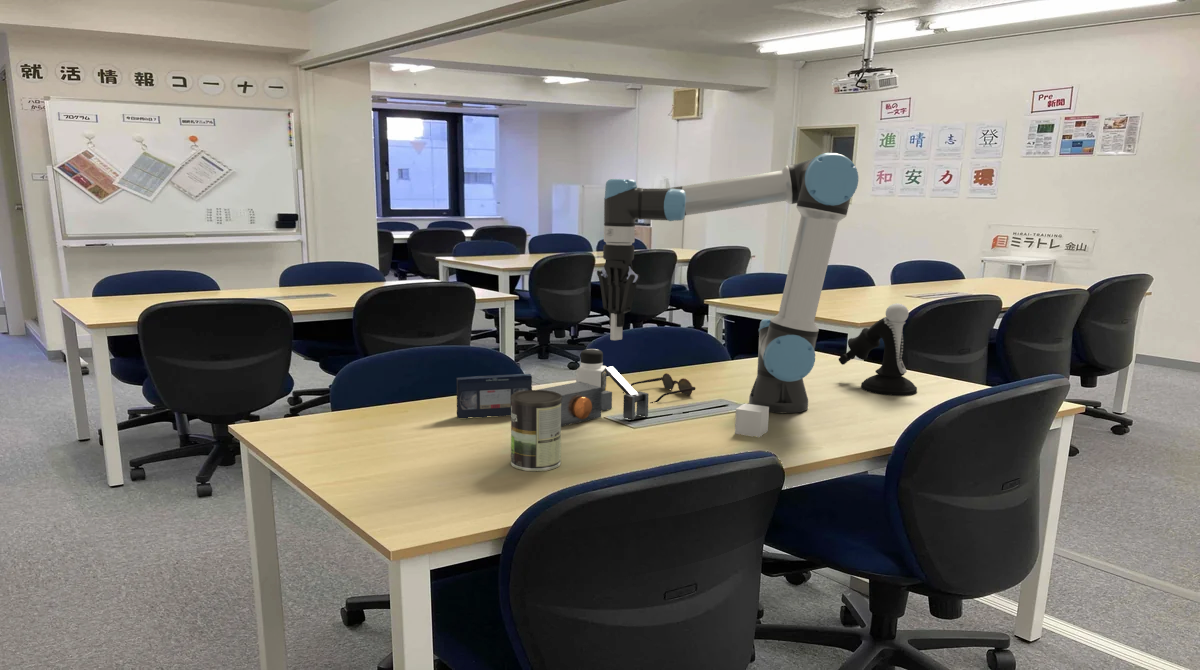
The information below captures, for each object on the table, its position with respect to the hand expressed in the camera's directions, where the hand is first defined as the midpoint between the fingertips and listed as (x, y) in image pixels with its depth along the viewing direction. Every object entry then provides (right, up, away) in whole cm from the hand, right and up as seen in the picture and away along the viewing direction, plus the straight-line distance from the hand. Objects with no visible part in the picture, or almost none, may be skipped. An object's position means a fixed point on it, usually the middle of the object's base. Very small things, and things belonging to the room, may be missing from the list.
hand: (616, 339), depth 203 cm
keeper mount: (+1, -19, +2) cm, 19 cm away
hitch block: (-12, -19, -3) cm, 23 cm away
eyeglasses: (+12, -16, +22) cm, 30 cm away
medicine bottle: (-6, -15, +23) cm, 28 cm away
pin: (-12, -18, -3) cm, 22 cm away
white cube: (+31, -22, -12) cm, 40 cm away
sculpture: (+76, -14, +36) cm, 85 cm away
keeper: (+1, -12, +1) cm, 12 cm away
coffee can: (-17, -25, -37) cm, 48 cm away
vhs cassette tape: (-30, -19, -1) cm, 36 cm away
